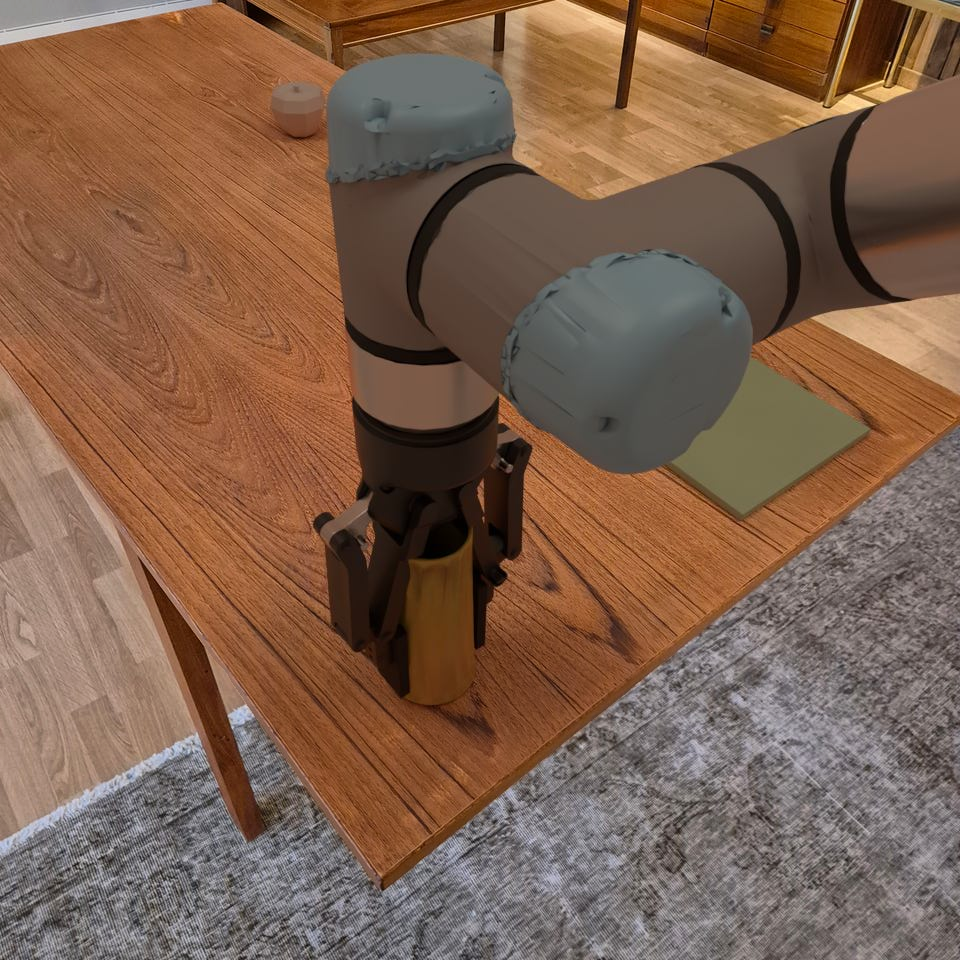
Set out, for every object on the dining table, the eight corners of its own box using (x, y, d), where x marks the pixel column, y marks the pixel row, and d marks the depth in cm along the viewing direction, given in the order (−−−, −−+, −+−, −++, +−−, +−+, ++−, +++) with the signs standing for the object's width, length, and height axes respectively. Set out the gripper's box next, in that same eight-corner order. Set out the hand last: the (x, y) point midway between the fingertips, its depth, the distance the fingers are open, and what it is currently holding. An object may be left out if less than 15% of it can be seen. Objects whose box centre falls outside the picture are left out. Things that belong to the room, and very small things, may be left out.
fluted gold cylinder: (443, 619, 65) (442, 478, 55) (493, 677, 61) (502, 538, 52) (371, 659, 62) (357, 518, 52) (419, 723, 59) (413, 585, 49)
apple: (267, 125, 128) (260, 78, 123) (320, 118, 130) (315, 71, 126) (281, 147, 123) (275, 99, 118) (336, 139, 125) (332, 91, 121)
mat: (868, 435, 81) (871, 428, 81) (740, 521, 73) (742, 514, 72) (659, 308, 96) (661, 302, 95) (533, 368, 87) (534, 361, 87)
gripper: (518, 298, 51) (502, 562, 67) (222, 423, 43) (284, 691, 59) (609, 360, 47) (569, 626, 63) (301, 512, 39) (345, 775, 55)
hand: (432, 657), depth 61 cm, fingers closed on fluted gold cylinder, 6 cm apart
